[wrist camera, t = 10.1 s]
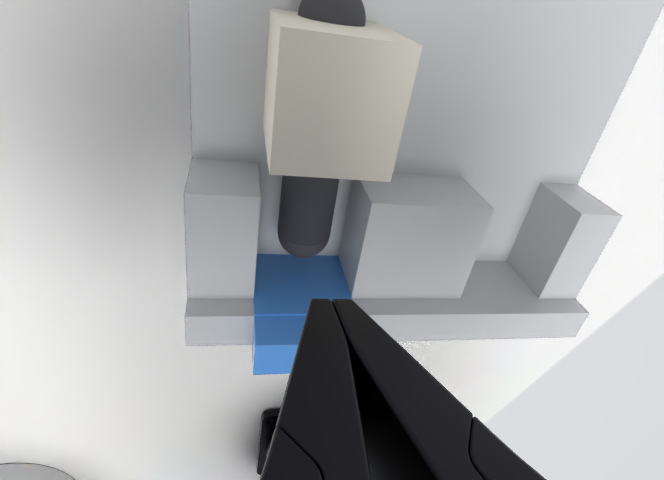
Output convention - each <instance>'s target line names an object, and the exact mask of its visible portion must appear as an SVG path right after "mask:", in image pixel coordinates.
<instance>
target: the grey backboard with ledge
mask: <svg viewBox="0 0 664 480" xmlns="http://www.w3.org/2000/svg"><path fill="white" fill-rule="evenodd" d="M362 2H363V5H364V8H365V14H366V22H371V23H378V24H380V25H382V26H384V27H386V28H388V29H390V30H392V31H394V32H396V33H398V34H400V35H402V36H404V37H406V38H408V39H410V40H412V41H414V42H416V43H418V44H420V45H422V46H423V47H422V51H421V55H420V60H419V64H418V68H417V72H416V77H415V81H414V85H413V89H412V94H411V98H410V102H409V106H408V111H407V115H406V119H405V123H404V127H403V132H402V136H401V140H400V144H399V149H398V153H397V157H396V161H395V166H394V170H393V174H392V178H391V182H381V181H365V180H349V179H339V185H338V191H337V197H336V203H335V209H334V215H333V221H332V227H331V233H330V237H329V241H328V243H327V245H326V246H325V248H324V249H323V250H322V251H321V252H320V253H318V254H317V255H315V256H312V257H307V258H300V257H296V256H293V255H291V254H290V253H288V252H287V251H286V250H285V249H284V248H283V247H282V245H281V244H280V242H279V238H278V218H279V208H280V197H281V186H282V175H269V169H268V161H267V153H266V146H265V138H264V130H263V115H264V99H265V83H266V67H267V51H268V36H269V20H270V8H276V9H283V10H289V11H296V12H298V10H299V6H300V3H301V0H189V42H190V87H191V131H192V161H191V165H190V169H189V174H188V178H187V182H186V186H185V191H184V214H185V242H186V271H187V305H186V312H185V337H186V346H214V345H252V350H253V375H261V374H287V373H291V369H292V365H293V362H294V358H295V354H296V351H297V347H298V343H299V340H300V336H301V332H302V329H303V325H304V321H305V318H306V314H307V310H308V307H309V303H310V300H311V299H314V298H318V299H330V300H331V301H332V300H333V299H351V300H353V301H354V302H355V303H356V304H357V305H358V306H359V307H361V308H362V309H363V310H364V311H365V312H366V313H367V314H368V315H369V316H370V317H371V318H372V319H373V320H374V321H375V322H376V323H377V324H378V325H379V326H381V327H382V328H383V329H384V330H385V331H386V332H387V333H388V334H389V335H390V336H391V337H392V338H393V339H394V340H395V341H428V340H471V339H514V338H557V337H575V336H576V335H577V333H578V331H579V330H580V328H581V326H582V325H583V323H584V321H585V320H586V318H587V316H588V315H589V312H588V311H587V310H586V309H585V308H584V307H583V306H582V305H581V304H580V303H579V302H578V301H577V300H576V297H577V295H578V293H579V292H580V290H581V288H582V286H583V285H584V283H585V281H586V279H587V278H588V276H589V274H590V272H591V271H592V269H593V267H594V265H595V263H596V262H597V260H598V258H599V256H600V255H601V253H602V251H603V249H604V248H605V246H606V244H607V242H608V241H609V239H610V237H611V235H612V234H613V232H614V230H615V228H616V226H617V225H618V223H619V221H620V219H621V218H622V215H620V214H619V213H617V212H616V211H614V210H613V209H611V208H610V207H609V206H607V205H606V204H604V203H603V202H601V201H600V200H598V199H597V198H595V197H594V196H593V195H591V194H590V193H588V192H587V191H585V190H584V189H582V188H581V187H579V186H578V185H577V184H578V182H579V180H580V177H581V175H582V173H583V171H584V169H585V167H586V165H587V163H588V161H589V159H590V157H591V155H592V153H593V151H594V149H595V146H596V144H597V142H598V140H599V138H600V136H601V134H602V132H603V130H604V128H605V126H606V124H607V122H608V120H609V118H610V116H611V113H612V111H613V109H614V107H615V105H616V103H617V101H618V99H619V97H620V95H621V93H622V91H623V89H624V87H625V85H626V82H627V80H628V78H629V76H630V74H631V72H632V70H633V68H634V66H635V64H636V62H637V60H638V58H639V56H640V54H641V51H642V49H643V47H644V45H645V43H646V41H647V39H648V37H649V35H650V33H651V31H652V29H653V27H654V25H655V23H656V21H657V18H658V16H659V14H660V12H661V10H662V8H663V6H664V0H362Z"/></svg>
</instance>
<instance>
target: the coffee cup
mask: <svg viewBox="0 0 664 480" xmlns="http://www.w3.org/2000/svg"><path fill="white" fill-rule="evenodd" d="M0 480H74V479H73V478H72V477H70V476H69V475H67V474H66V473H64V472H62V471H59V470H57V469H54V468H51V467H47V466H43V465H37V464H27V463H11V464H1V465H0Z"/></svg>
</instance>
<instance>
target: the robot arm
mask: <svg viewBox="0 0 664 480" xmlns="http://www.w3.org/2000/svg"><path fill="white" fill-rule="evenodd" d="M472 417H473V415H472V413H471V412H470V411H469V410H468V409H467V408H466V407H465V406H464V405H463V404H462V403H461V402H459V401H458V400H457V399H456V398H455V397H454V396H453V395H452V394H451V393H450V392H449V391H448V390H447V389H446V388H445V387H444V386H443V385H442V384H441V383H439V382H438V381H437V380H436V379H435V378H434V377H433V376H432V375H431V374H430V373H429V372H428V371H427V370H426V369H425V368H424V367H423V366H422V365H421V364H419V363H418V362H417V361H416V360H415V359H414V358H413V357H412V356H411V355H410V354H409V353H408V352H407V351H406V350H405V349H404V348H403V347H402V346H401V345H399V344H398V343H397V342H396V341H395V340H394V339H393V338H392V337H391V336H390V335H389V334H388V333H387V332H386V331H385V330H384V329H383V328H382V327H381V326H379V325H378V324H377V323H376V322H375V321H374V320H373V319H372V318H371V317H370V316H369V315H368V314H367V313H366V312H365V311H364V310H363V309H362V308H361V307H359V306H358V305H357V304H356V303H355V302H354V301H353V300H351V299H333V300H332V301H331V300H330V299H318V298H314V299H311V300H310V303H309V307H308V310H307V314H306V318H305V321H304V325H303V329H302V332H301V336H300V340H299V343H298V347H297V351H296V354H295V358H294V362H293V365H292V369H291V373H290V376H289V380H288V383H287V387H286V391H285V394H284V398H283V402H282V405H281V409H280V410H271V411H266V412H264V413H263V414H262V418H261V428H260V438H259V449H258V459H257V473H258V474H259V475H261V477H260V480H546V479H545V478H544V477H542V476H541V475H540V474H539V473H538V472H537V471H535V470H534V469H533V468H532V467H531V466H529V465H528V464H527V463H526V462H525V461H523V460H522V459H521V458H520V457H519V456H518V455H516V454H515V453H514V452H513V451H512V450H511V449H510V448H509V447H508V446H507V445H505V444H504V443H503V442H502V441H501V440H500V439H499V438H498V437H497V436H496V435H495V434H493V433H492V432H491V431H490V430H489V429H488V428H487V427H486V426H485V425H484V424H483V423H482V422H481V421H480V420H479V419H478V418H476V417H473V418H472Z"/></svg>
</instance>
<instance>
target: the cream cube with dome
mask: <svg viewBox="0 0 664 480" xmlns="http://www.w3.org/2000/svg"><path fill="white" fill-rule="evenodd" d="M422 47H423V46H422V45H420V44H418V43H416V42H414V41H412V40H410V39H408V38H406V37H404V36H402V35H400V34H398V33H396V32H394V31H392V30H390V29H388V28H386V27H384V26H382V25H380V24H378V23H371V22H366V14H365V8H364V5H363V2H362V0H301V3H300V6H299V10H298V12H296V11H289V10H283V9H276V8H270V20H269V36H268V51H267V67H266V83H265V99H264V115H263V130H264V138H265V146H266V153H267V161H268V169H269V175H282V186H281V197H280V208H279V218H278V238H279V242H280V244H281V245H282V247H283V248H284V249H285V250H286V251H287V252H288V253H290V254H291V255H293V256H296V257H300V258H307V257H312V256H315V255H317V254H318V253H320V252H321V251H322V250H323V249H324V248H325V246H326V245H327V243H328V241H329V237H330V233H331V227H332V221H333V215H334V209H335V203H336V197H337V191H338V185H339V179H349V180H365V181H381V182H391V178H392V174H393V170H394V166H395V161H396V157H397V153H398V149H399V144H400V140H401V136H402V132H403V127H404V123H405V119H406V115H407V111H408V106H409V102H410V98H411V94H412V89H413V85H414V81H415V77H416V72H417V68H418V64H419V60H420V55H421V51H422Z"/></svg>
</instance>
